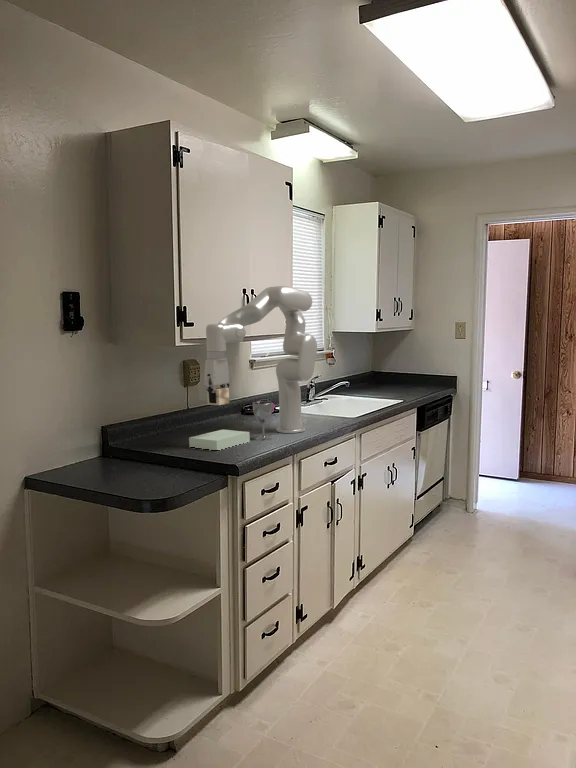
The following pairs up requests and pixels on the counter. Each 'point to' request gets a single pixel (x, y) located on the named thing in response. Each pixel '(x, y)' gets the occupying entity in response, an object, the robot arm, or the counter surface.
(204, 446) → the sage stand
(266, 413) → the wine glass
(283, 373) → the robot arm
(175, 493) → the counter surface
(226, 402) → the maple cube
